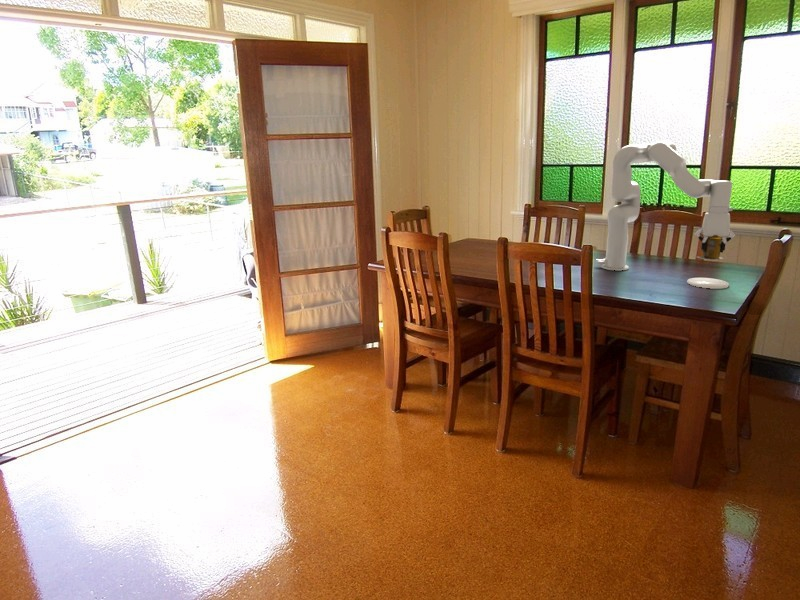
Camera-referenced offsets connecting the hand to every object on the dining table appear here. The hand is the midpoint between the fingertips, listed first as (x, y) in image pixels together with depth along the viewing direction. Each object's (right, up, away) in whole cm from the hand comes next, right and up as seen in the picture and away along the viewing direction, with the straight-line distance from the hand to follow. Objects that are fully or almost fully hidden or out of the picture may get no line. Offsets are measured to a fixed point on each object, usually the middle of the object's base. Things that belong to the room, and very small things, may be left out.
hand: (712, 251), depth 235 cm
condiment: (-1, -3, +1) cm, 3 cm away
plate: (0, -14, +4) cm, 15 cm away
